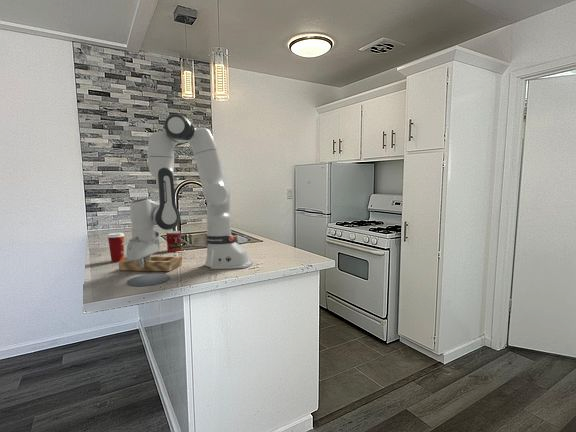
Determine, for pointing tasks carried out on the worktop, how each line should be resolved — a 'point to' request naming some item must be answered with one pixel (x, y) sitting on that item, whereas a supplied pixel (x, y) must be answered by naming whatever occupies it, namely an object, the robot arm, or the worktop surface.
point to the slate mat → (148, 279)
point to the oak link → (152, 264)
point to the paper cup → (116, 246)
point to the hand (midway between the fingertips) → (145, 266)
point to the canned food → (173, 241)
